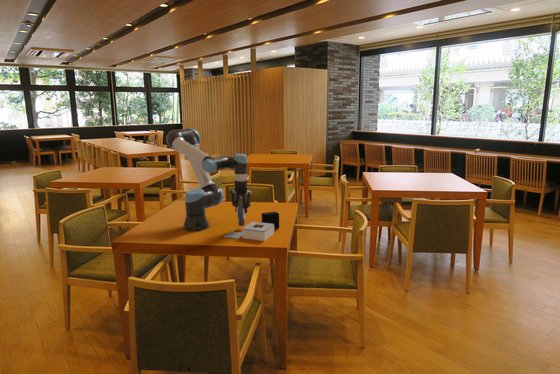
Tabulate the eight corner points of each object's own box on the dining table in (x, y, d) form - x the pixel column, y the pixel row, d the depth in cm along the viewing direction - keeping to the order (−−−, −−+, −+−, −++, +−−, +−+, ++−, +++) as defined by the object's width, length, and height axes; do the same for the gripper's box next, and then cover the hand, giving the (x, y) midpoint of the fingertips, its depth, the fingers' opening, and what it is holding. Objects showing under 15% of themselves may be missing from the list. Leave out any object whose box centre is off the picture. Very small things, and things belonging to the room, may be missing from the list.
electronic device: (261, 228, 236) (261, 213, 234) (276, 226, 239) (276, 211, 237) (263, 230, 232) (263, 214, 230) (279, 228, 236) (279, 213, 233)
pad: (224, 237, 221) (223, 236, 221) (231, 232, 229) (231, 231, 229) (237, 239, 218) (237, 238, 218) (245, 234, 226) (245, 233, 226)
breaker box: (242, 238, 220) (242, 228, 218) (252, 230, 232) (252, 221, 231) (264, 241, 215) (264, 231, 213) (274, 233, 227) (274, 223, 226)
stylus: (237, 225, 234) (237, 198, 230) (240, 223, 237) (239, 197, 233) (242, 226, 232) (242, 199, 228) (245, 224, 236) (245, 197, 232)
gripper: (225, 180, 228) (226, 217, 233) (250, 182, 222) (251, 221, 227) (231, 177, 235) (232, 214, 240) (256, 180, 229) (256, 217, 234)
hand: (241, 217), depth 234 cm, fingers closed on stylus, 3 cm apart
